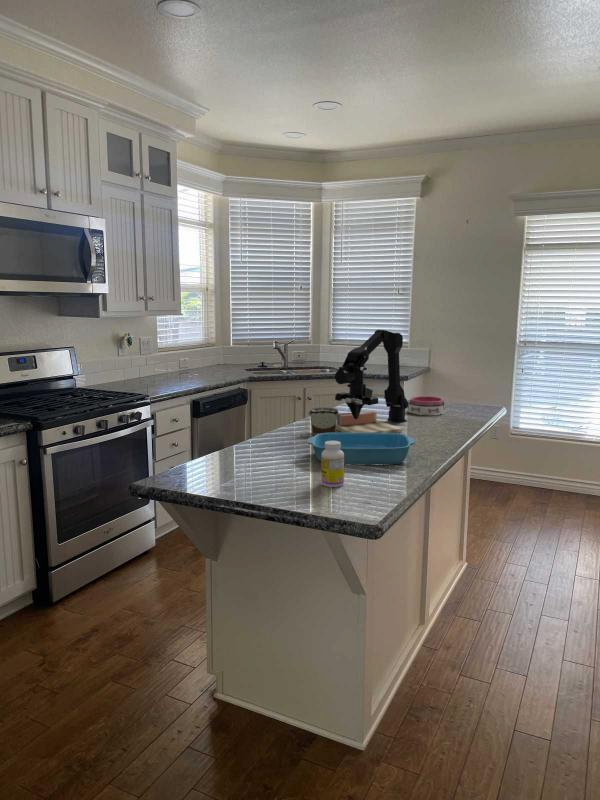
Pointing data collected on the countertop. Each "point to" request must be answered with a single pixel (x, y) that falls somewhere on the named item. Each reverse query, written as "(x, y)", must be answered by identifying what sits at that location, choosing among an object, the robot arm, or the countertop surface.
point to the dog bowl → (426, 405)
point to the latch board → (367, 427)
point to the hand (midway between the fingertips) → (356, 419)
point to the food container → (323, 420)
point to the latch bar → (361, 419)
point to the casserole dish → (366, 447)
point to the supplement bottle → (332, 465)
